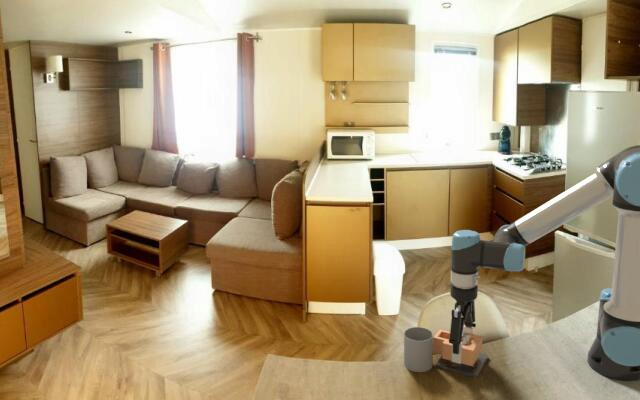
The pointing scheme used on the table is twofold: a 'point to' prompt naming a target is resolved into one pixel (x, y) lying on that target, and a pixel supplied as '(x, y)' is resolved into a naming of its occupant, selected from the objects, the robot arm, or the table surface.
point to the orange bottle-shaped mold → (468, 352)
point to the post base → (463, 368)
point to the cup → (418, 349)
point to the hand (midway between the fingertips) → (462, 354)
